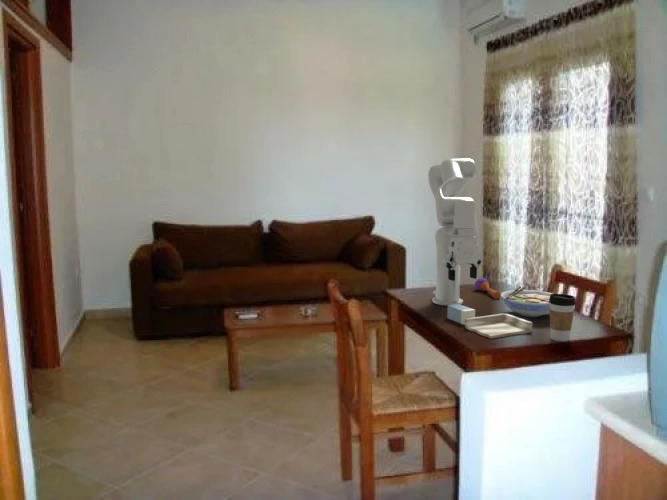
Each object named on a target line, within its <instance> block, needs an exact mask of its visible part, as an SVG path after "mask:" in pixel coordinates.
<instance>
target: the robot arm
mask: <svg viewBox="0 0 667 500" xmlns="http://www.w3.org/2000/svg"><path fill="white" fill-rule="evenodd" d="M477 170H478V169H477V164H476V162H475V161H474V160H473V159H471V158H447V159H445V160H443V161H442V162H441V163H439V164H434V165H431V166H430V168H429V169H428V175H427V177H428V184H429V187H430V189H431V193H432V194H433V197H434V201H435V202H434V203H435V211H436V212H435V213H436V220H437V223H438V225H439V226H440V228H438V229H437V230H436V232H435V246H436V285H435V286H436V287H435V288H436V289H435V290H433V291H432V294H433V295H435V296H434V297H433V298H432V300H431V302H432V304H436V305H438V306H445V307H446V306H447V307H448V305H454V304H460V305H463V303H464V300H463V299H462V298H460V290H461V289H460V288H461V287H460V286H461V285H460V284H461V265H462V266H463V265H465V266H466V265H470V268H469V278H471V279H475V280H477V279H478V278H477V276H478V268H479V266H480V265H481V263H482V260H483V259H484V255H483V254H481V253H480V252H479V243H480V235H479V227H478V219H477V213H476V210H477V209H476V208H477V206H476V205H477V203H476V201H475V200H474V199H473V198H472V197H468V196H456V195H458V194H461V193H462V192H463V191H464V190H465V189H466V185H467V184H469V183H471V182H472V181H473V180H474V179H475V178H476V177H477Z"/></svg>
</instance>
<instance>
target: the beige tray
mask: <svg viewBox="0 0 667 500" xmlns="http://www.w3.org/2000/svg"><path fill="white" fill-rule="evenodd" d="M464 329H466V330H468V331H470V332H473V333H475V334H478V335H480V336H483V337H486V338H488V339H492V340H493V339H498V338H503V337H511V336H517V335H523V334H528V333H532V332H533V322H532V321H530V320H527V319H524V318H520V317H518V316H515V315H513V314H509V313H505V312H504V313H497V314H490V315H489V314H488V315H483V316H475V317H474V318H466V319H465V325H464Z"/></svg>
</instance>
